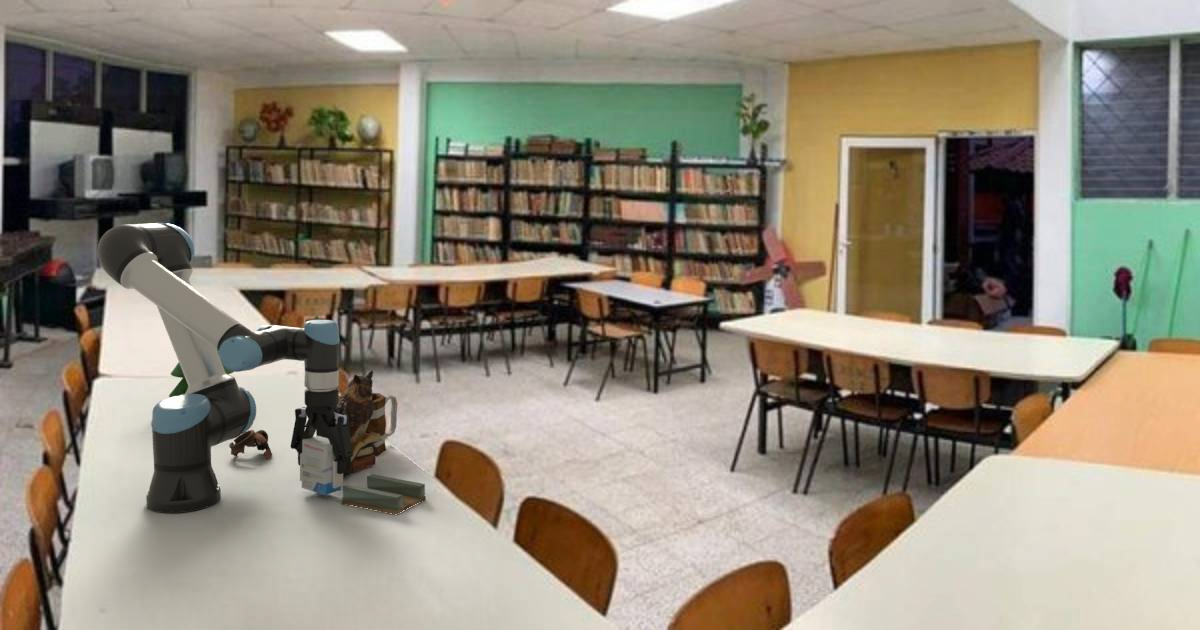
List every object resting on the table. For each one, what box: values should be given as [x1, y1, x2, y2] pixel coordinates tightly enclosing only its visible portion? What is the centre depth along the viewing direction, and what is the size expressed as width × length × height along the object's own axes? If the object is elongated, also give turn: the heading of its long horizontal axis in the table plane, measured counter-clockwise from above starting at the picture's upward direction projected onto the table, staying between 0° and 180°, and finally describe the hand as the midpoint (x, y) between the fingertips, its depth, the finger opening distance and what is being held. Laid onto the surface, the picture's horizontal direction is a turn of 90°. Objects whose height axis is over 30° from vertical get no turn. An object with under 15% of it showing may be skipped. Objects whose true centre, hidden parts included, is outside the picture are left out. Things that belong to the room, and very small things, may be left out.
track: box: [341, 473, 427, 515], centre depth 204 cm, size 11×15×4 cm
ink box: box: [301, 435, 342, 496], centre depth 207 cm, size 9×5×12 cm, turn 58°
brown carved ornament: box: [228, 429, 273, 461], centre depth 236 cm, size 12×10×8 cm
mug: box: [339, 392, 398, 457], centre depth 244 cm, size 20×14×15 cm
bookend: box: [315, 370, 382, 478], centre depth 225 cm, size 15×11×25 cm
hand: (321, 482), depth 207 cm, fingers closed on ink box, 9 cm apart
